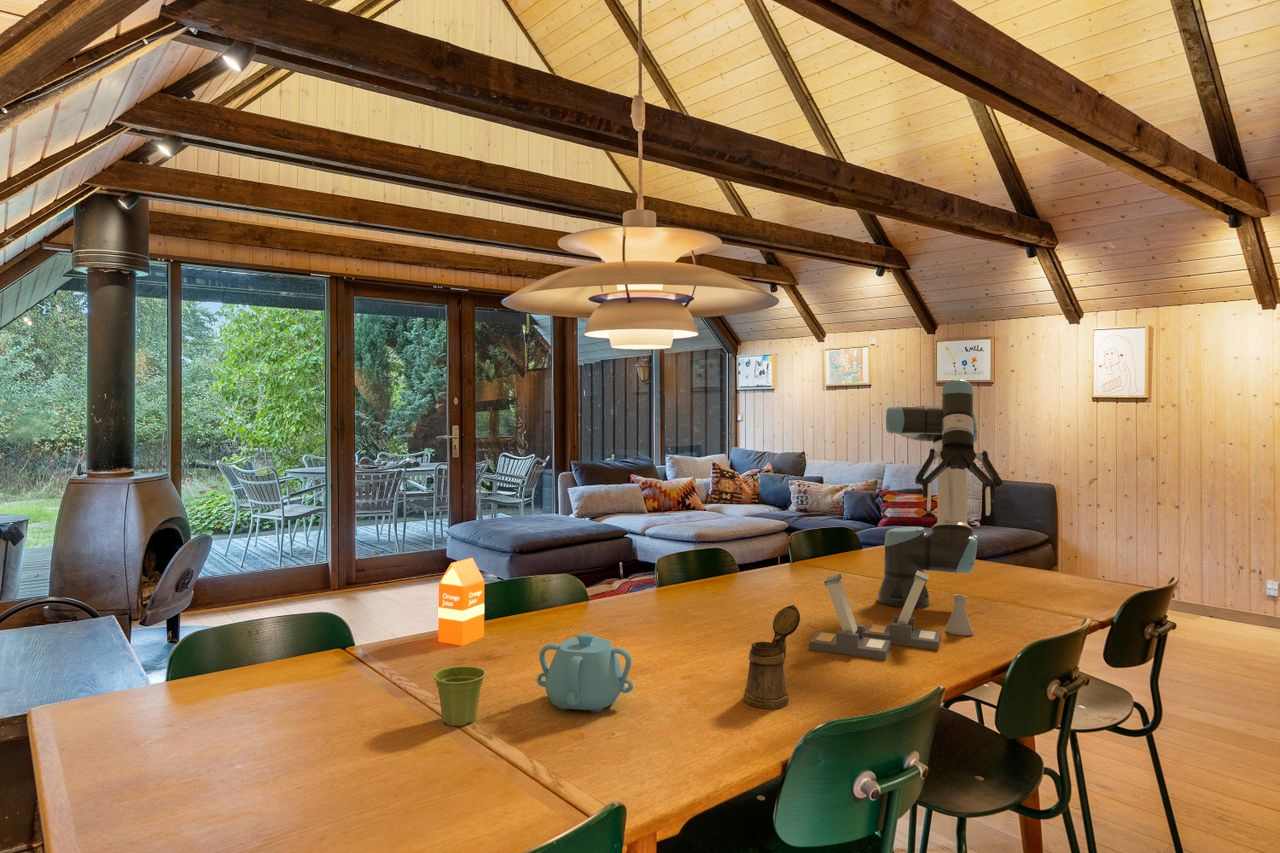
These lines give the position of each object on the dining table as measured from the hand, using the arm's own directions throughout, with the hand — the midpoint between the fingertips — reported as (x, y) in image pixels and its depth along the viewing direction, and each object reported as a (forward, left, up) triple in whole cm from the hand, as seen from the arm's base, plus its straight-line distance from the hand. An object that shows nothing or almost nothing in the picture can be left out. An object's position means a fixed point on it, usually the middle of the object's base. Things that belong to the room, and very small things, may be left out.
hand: (958, 511), depth 189 cm
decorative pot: (+19, -95, -35) cm, 103 cm away
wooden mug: (+23, -57, -35) cm, 71 cm away
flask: (-14, +10, -35) cm, 38 cm away
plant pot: (+24, -119, -35) cm, 126 cm away
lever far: (-10, -9, -31) cm, 34 cm away
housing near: (-5, -26, -34) cm, 43 cm away
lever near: (-4, -26, -31) cm, 40 cm away
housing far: (-10, -9, -34) cm, 37 cm away
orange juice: (-28, -120, -35) cm, 128 cm away
